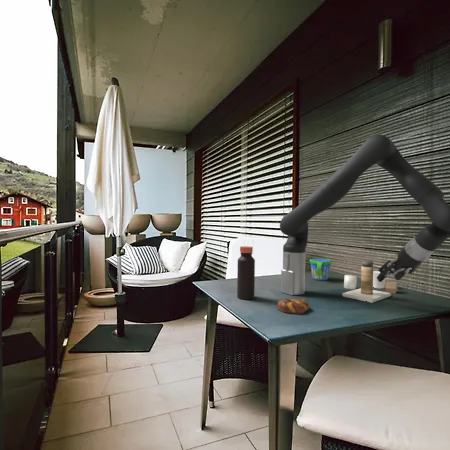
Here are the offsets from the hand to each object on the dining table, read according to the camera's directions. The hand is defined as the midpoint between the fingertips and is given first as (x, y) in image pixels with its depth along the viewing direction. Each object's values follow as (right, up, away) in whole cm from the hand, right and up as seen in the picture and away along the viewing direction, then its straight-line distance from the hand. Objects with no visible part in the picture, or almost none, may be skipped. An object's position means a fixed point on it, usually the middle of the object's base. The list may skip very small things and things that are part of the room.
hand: (387, 279), depth 115 cm
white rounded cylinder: (-5, -8, +23) cm, 25 cm away
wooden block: (+11, -9, +17) cm, 22 cm away
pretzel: (-38, -9, -9) cm, 40 cm away
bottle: (-53, -8, +5) cm, 54 cm away
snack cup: (-12, -8, +42) cm, 45 cm away
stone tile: (-3, -9, +9) cm, 13 cm away
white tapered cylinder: (+10, -9, +27) cm, 30 cm away
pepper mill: (-3, -7, +9) cm, 12 cm away
